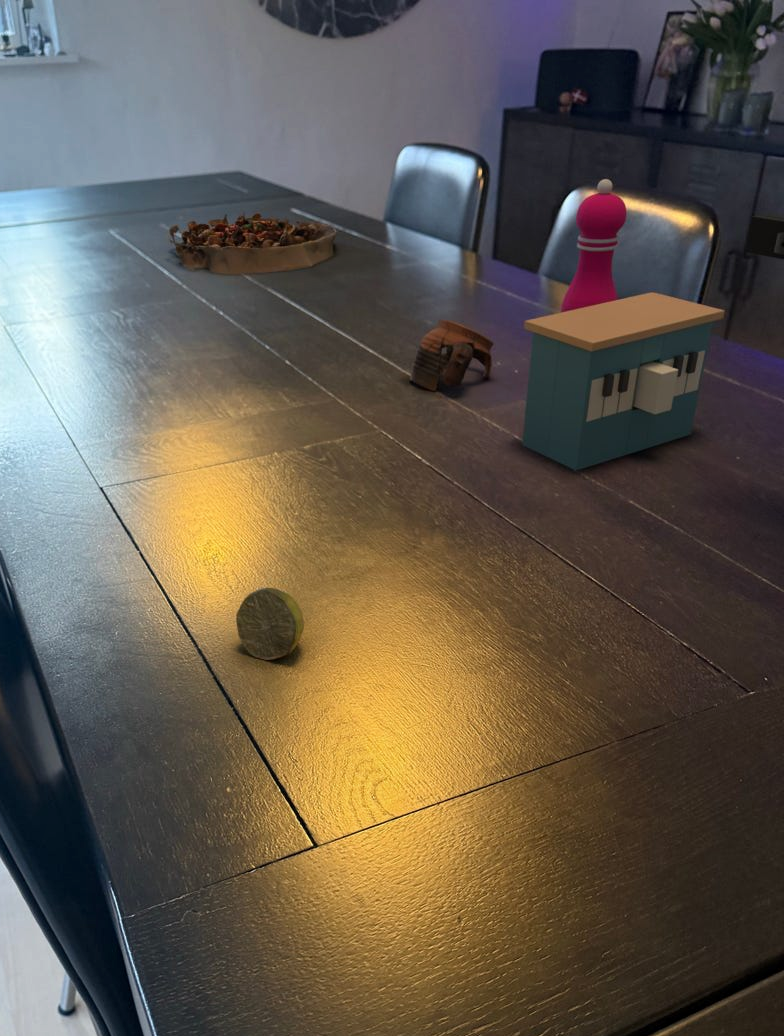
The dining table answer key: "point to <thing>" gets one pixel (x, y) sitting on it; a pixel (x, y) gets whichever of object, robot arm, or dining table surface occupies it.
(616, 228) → the pepper mill
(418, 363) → the rusty brown helmet
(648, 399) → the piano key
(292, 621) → the lime
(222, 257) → the food dish
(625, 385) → the toy piano
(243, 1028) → the dining table surface
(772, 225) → the robot arm
